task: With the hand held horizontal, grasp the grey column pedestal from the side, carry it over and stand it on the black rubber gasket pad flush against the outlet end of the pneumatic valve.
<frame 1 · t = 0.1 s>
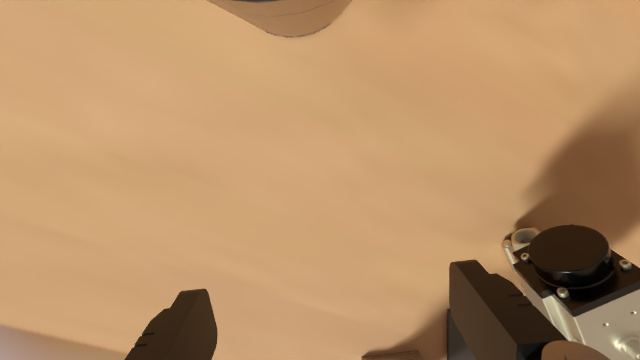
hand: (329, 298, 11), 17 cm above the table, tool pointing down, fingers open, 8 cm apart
gasket pad: (485, 335, 35), on the table
pneumatic valve: (517, 248, 31), on the table
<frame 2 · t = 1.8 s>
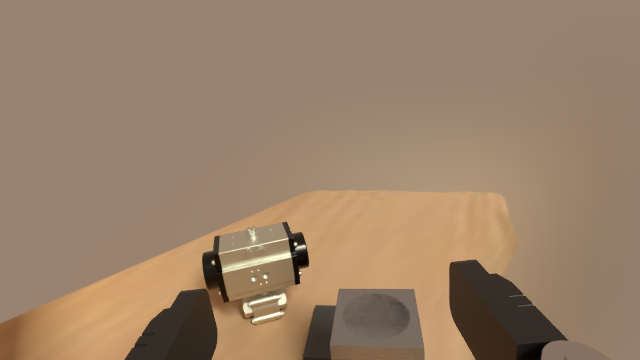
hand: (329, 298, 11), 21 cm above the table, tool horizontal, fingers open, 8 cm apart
gasket pad: (345, 333, 38), on the table
pneumatic valve: (267, 317, 42), on the table
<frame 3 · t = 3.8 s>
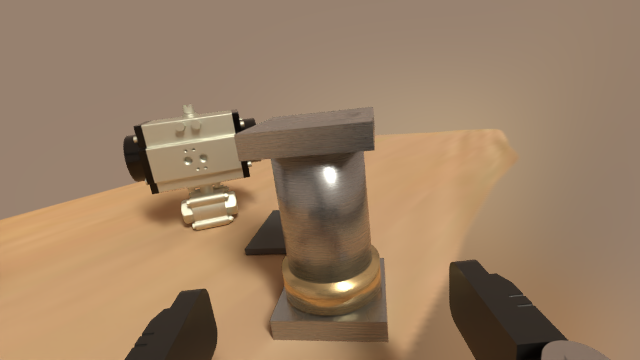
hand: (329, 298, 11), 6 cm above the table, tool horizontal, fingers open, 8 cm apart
gasket pad: (303, 230, 30), on the table
grey column pedestal: (335, 303, 20), on the table
pneumatic valve: (214, 225, 34), on the table
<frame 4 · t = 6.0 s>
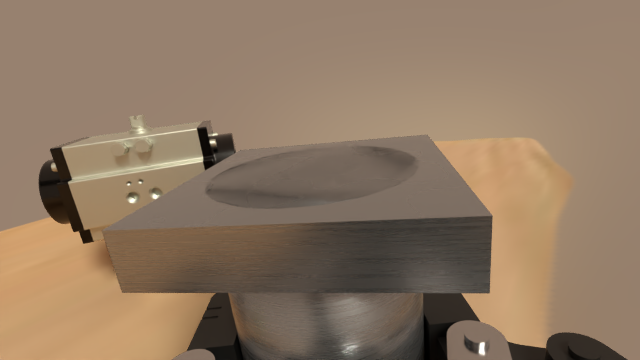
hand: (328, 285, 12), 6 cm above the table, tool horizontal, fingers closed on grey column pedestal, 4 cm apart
pneumatic valve: (179, 278, 25), on the table
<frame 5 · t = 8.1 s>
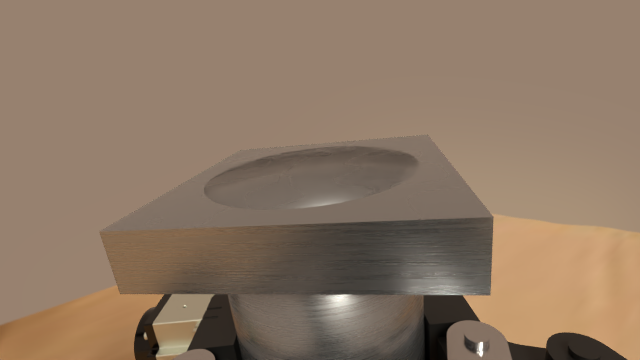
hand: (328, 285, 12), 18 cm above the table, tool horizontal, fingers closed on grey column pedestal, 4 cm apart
when the fingers open (7 cm above the table, at t = 10.2 s): grey column pedestal stays where it is, resting on gasket pad.
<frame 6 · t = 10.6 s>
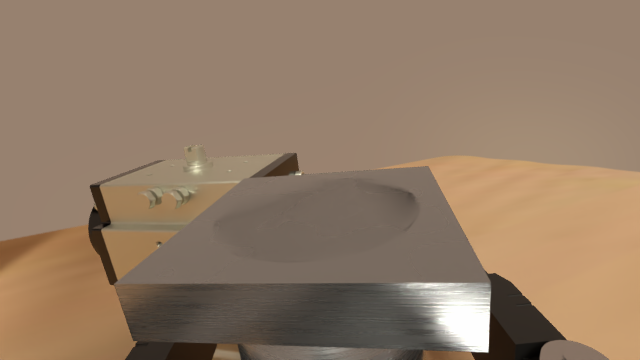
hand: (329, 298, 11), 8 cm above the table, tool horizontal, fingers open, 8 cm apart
pneumatic valve: (235, 352, 20), on the table
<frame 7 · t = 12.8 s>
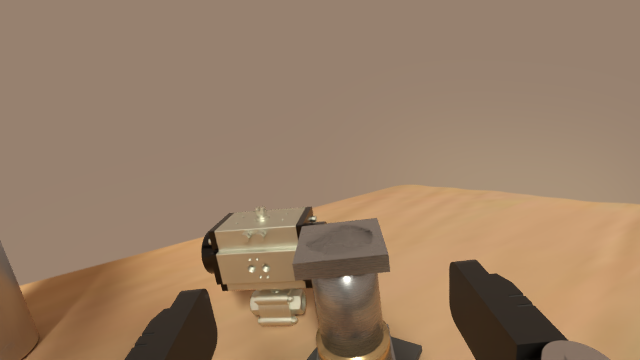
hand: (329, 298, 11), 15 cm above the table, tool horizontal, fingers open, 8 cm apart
pneumatic valve: (280, 320, 34), on the table
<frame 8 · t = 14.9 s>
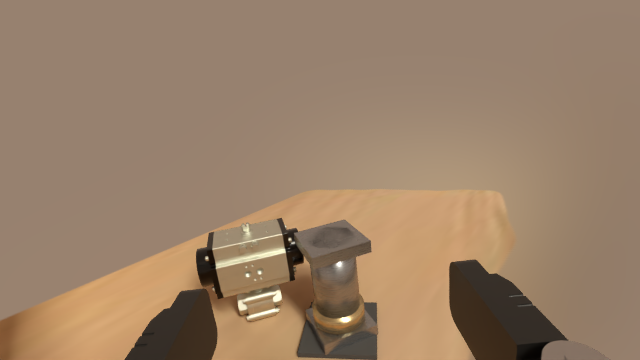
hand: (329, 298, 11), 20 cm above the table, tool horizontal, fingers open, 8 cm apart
gasket pad: (340, 329, 37), on the table
grey column pedestal: (340, 326, 37), resting on gasket pad
pneumatic valve: (262, 314, 42), on the table
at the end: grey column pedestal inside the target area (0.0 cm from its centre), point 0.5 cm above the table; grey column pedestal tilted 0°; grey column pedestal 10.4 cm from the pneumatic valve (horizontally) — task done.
